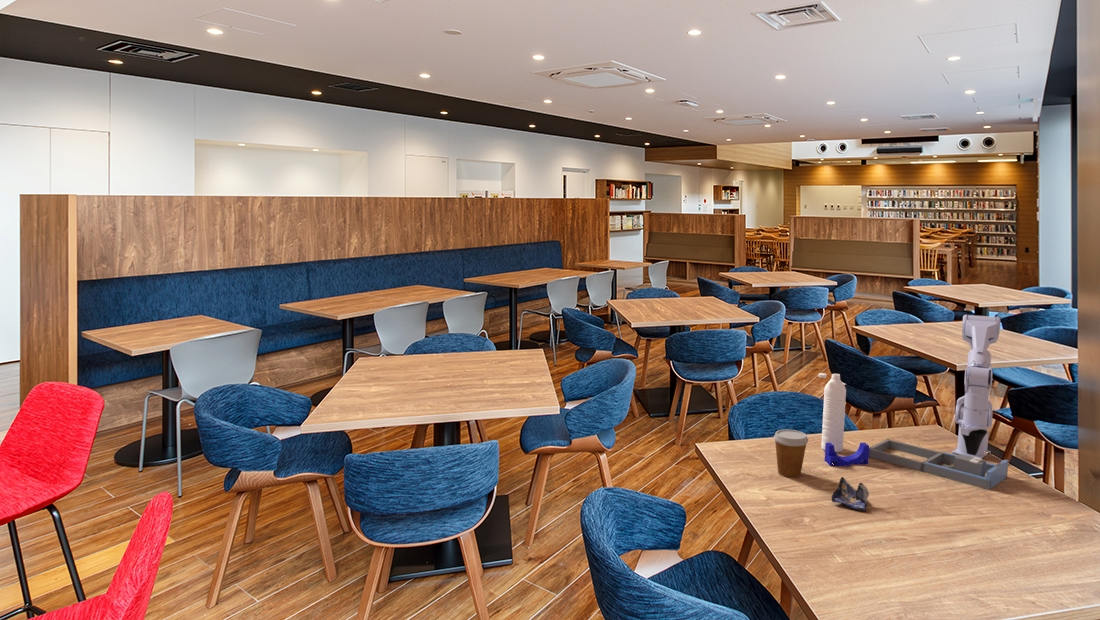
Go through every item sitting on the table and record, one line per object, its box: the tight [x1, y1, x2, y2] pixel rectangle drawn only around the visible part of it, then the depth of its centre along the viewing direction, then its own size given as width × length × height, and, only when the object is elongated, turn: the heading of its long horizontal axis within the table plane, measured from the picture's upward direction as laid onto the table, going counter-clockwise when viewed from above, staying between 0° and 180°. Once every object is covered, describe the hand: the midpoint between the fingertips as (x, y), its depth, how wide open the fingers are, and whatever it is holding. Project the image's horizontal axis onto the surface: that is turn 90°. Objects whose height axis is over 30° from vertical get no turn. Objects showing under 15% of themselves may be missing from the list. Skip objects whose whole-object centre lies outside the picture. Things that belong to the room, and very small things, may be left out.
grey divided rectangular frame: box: [869, 438, 1009, 490], centre depth 202 cm, size 14×34×5 cm, turn 39°
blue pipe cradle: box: [824, 442, 870, 467], centre depth 205 cm, size 12×4×6 cm, turn 88°
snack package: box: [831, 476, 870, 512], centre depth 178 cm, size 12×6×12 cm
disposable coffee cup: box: [773, 429, 809, 478], centre depth 197 cm, size 10×10×12 cm
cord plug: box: [941, 454, 987, 478], centre depth 196 cm, size 4×11×5 cm, turn 39°
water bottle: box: [817, 372, 847, 453], centre depth 216 cm, size 9×6×25 cm
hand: (971, 453), depth 194 cm, fingers closed
